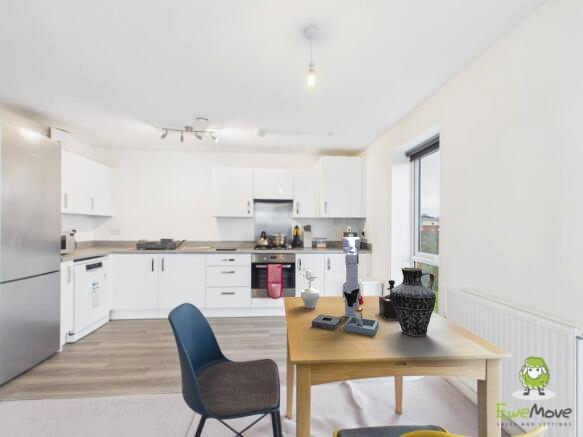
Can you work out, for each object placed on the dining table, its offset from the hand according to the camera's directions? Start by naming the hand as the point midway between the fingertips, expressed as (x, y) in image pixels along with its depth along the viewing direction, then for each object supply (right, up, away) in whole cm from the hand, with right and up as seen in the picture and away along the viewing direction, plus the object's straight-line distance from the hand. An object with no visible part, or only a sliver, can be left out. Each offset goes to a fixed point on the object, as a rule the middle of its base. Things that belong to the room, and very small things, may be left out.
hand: (352, 304), depth 145 cm
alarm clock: (+11, -11, +43) cm, 46 cm away
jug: (+27, -10, -9) cm, 30 cm away
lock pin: (+3, -10, -4) cm, 11 cm away
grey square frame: (-12, -10, +2) cm, 16 cm away
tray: (+4, -10, -4) cm, 12 cm away
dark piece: (+25, -11, +19) cm, 33 cm away
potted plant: (-19, -11, +31) cm, 38 cm away
